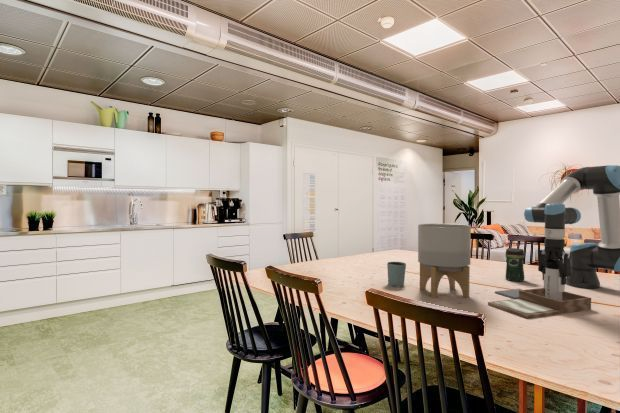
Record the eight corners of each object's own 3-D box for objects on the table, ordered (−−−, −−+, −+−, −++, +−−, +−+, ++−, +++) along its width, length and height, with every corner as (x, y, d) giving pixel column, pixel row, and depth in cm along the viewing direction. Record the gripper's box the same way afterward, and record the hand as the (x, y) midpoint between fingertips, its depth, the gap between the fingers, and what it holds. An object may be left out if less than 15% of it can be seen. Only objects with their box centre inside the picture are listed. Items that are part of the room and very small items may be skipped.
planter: (409, 293, 185) (409, 225, 184) (430, 284, 204) (431, 222, 203) (458, 302, 168) (459, 228, 168) (477, 292, 187) (478, 225, 186)
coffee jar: (525, 280, 214) (525, 248, 213) (522, 282, 208) (523, 249, 207) (507, 277, 220) (507, 246, 220) (503, 280, 214) (504, 248, 214)
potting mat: (519, 290, 190) (519, 288, 190) (540, 296, 179) (540, 294, 179) (494, 293, 185) (494, 291, 185) (515, 299, 174) (515, 297, 174)
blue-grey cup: (385, 282, 209) (385, 261, 209) (403, 282, 208) (403, 261, 208) (389, 286, 199) (389, 264, 198) (407, 286, 198) (407, 264, 198)
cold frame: (547, 297, 176) (547, 287, 176) (591, 309, 157) (591, 298, 157) (487, 304, 165) (487, 293, 165) (527, 318, 146) (527, 306, 146)
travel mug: (559, 303, 166) (559, 259, 166) (564, 307, 160) (564, 262, 159) (543, 302, 168) (543, 259, 168) (547, 306, 162) (547, 261, 161)
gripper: (529, 236, 171) (528, 285, 172) (569, 240, 153) (569, 295, 153) (540, 235, 174) (540, 284, 174) (582, 240, 155) (581, 294, 156)
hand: (553, 289), depth 164 cm, fingers closed on travel mug, 6 cm apart
